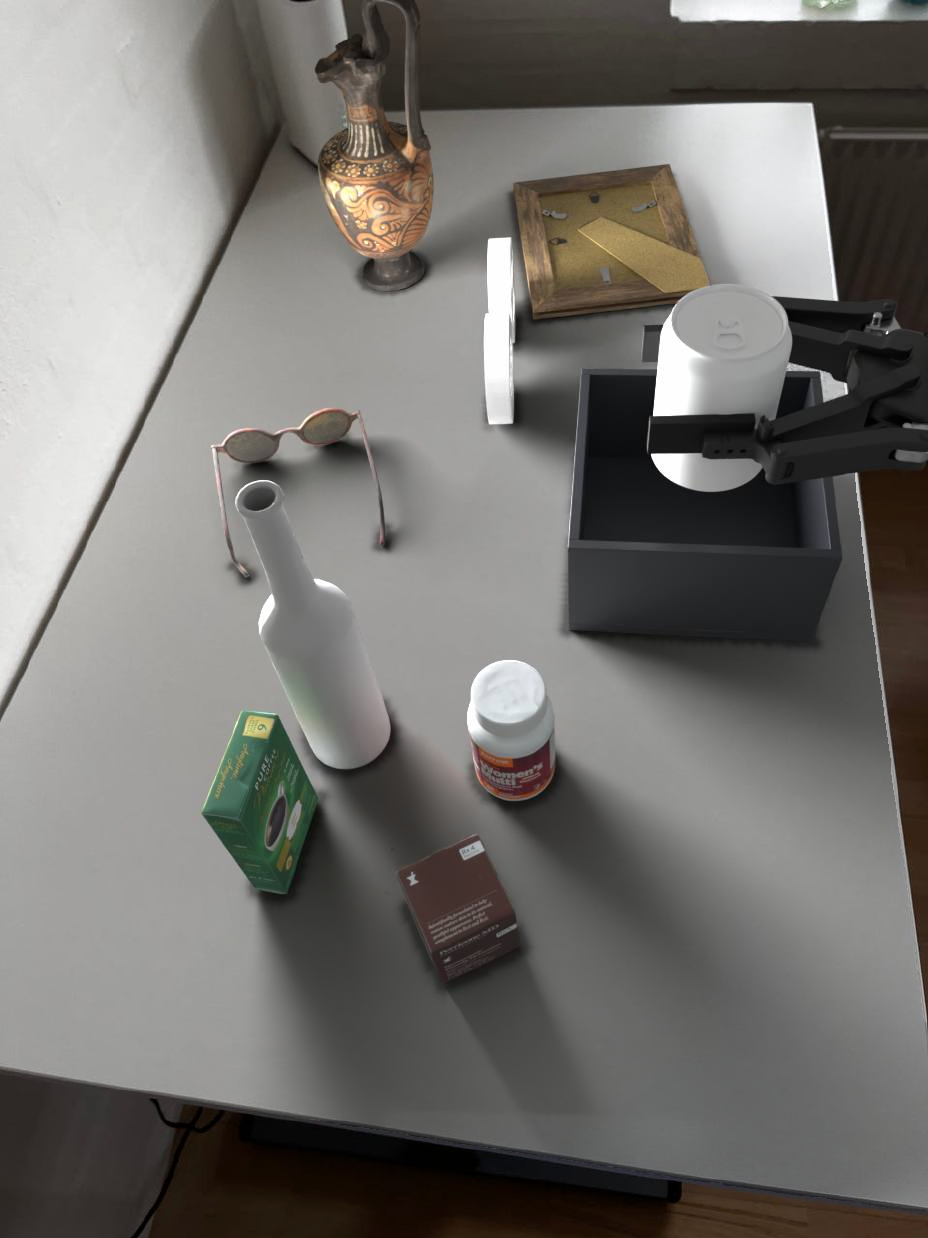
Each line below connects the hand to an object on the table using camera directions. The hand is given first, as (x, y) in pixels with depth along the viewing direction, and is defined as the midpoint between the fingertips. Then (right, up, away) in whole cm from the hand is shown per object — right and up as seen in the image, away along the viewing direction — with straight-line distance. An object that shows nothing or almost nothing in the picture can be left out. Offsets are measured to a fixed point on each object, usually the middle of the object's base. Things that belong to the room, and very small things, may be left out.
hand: (645, 387), depth 66 cm
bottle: (-21, -25, +13) cm, 35 cm away
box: (-12, -37, +3) cm, 39 cm away
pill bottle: (-8, -27, +10) cm, 30 cm away
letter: (-8, +10, +35) cm, 37 cm away
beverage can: (+5, -4, +5) cm, 8 cm away
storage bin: (+7, -9, +20) cm, 23 cm away
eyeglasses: (-27, -5, +27) cm, 39 cm away
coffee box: (-25, -32, +8) cm, 42 cm away
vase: (-20, +24, +46) cm, 55 cm away
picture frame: (+4, +27, +45) cm, 53 cm away
